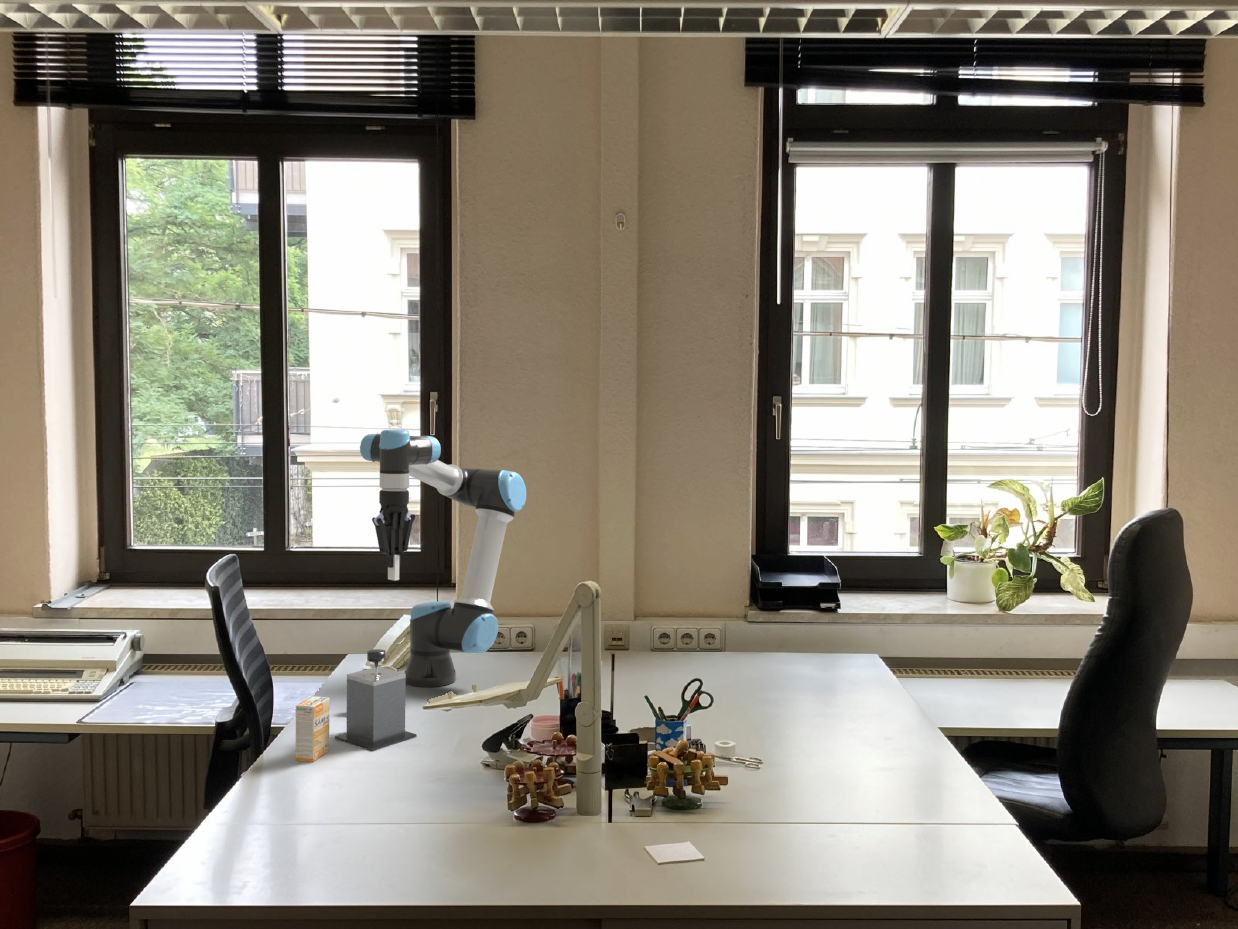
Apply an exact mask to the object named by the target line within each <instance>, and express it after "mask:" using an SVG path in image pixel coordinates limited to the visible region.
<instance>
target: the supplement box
mask: <svg viewBox="0 0 1238 929" xmlns="http://www.w3.org/2000/svg"><path fill="white" fill-rule="evenodd" d="M330 701H331V700H330V697H324V696H311V697H309V698H307V699H305V700H304V701H302V702H300V703H298V704H296V705H295V755H294V756H295V759H294V760H295V761H297V762H298V761H299V762H309V763H313V762H315V761H316V760H317V759H319V758H320V757H322V756H323V755H325V754H326V753H328V752H330V711H331V710H330V709H331V708H330V706H331V705H330V704H331V702H330Z"/></svg>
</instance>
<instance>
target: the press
mask: <svg viewBox="0 0 1238 929" xmlns="http://www.w3.org/2000/svg"><path fill="white" fill-rule="evenodd" d="M405 682H406V674H405V673H404V672H401V671H397V670H393V669H390V668H385V667H383V666H378V675H374V667H371V668H366V669H363V670H359V671H355V672H352V673H347V674H346V732H345V733H339V734H337V735H334V739H335V740H338V741H341V742H344V743H347V744H349V745H353V746H355V747H359V748H362V749H364V750H368V751H369V752H373V751H377V750H381V749H384V748H386V747H391V746H393V745H396V744H398V743H402V742H406V741H408V740H411V739H414V738H417V733H414V732H410V731H407V730H406V683H405Z"/></svg>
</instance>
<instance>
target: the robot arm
mask: <svg viewBox="0 0 1238 929" xmlns="http://www.w3.org/2000/svg"><path fill="white" fill-rule="evenodd" d="M359 451H360V455H361V456H362V458H363V459H364V460H365V461H368V462H372V463H379V488H380V491H379V494H378V495H379V497H378V498H379V501H378V502H379V504H380V510H379V514H378V515H377V516H376V517H374V516H373V517H372V519H371V522H372V523H373V525H374V528H375V533H376V537H377V544H378V550H379V553H380V554H383V555H385V556H386V557H385V558H386V559H385V562H386V563H385V564H386V567H387V580H389V581H399V580H400V567H401V566H402V556H403V555H404V554H405V552H408V549H409V543H410V540H411V539H410V538H411V533H412V528H413V523H414V521H415V519H416V515H415V514H412V513H411V512H409V507H408V504H410V491H409V490H408V489H409V488H410V477H411V478H414V479H415V480H419V481H420V482H422V483H424V484H426V485H428V486H431V487H434V488H436V491H438V493H439V494H441V495H442V496H444V497H447V498H448V499H449V498H450V499H451V500H453V501H455V502H458V503H460V504H462V505H464V506H469V507H472V508H475V509H474V511H475V514H476V515H477V517H478V519H477V524H476V527H475V531H474V532H475V534H474V537H473V541H472V547H471V551H470V555H469V560H468V563H467V569H466V572H465V578H464V581H463V585H462V586H463V587H462V591H461V595H460V597H459V598H457V599H456V600H454V603H453V607H452V604H451V602H450V601H447V600H446V601H445V600H443V601H442V600H440V601H437V600H436V601H430V602H423V603H418V604H415V605H414V606H412V608H411V610H410V619H409V623H410V624H409V625H410V626H409V627H410V630H409V631H410V632H409V634H410V636H409V640H410V641H409V642H410V645H409V646H410V648H409V649H410V650H409V653H410V654H409V658H408V661H407V665H406V669H405V670H404V672H403V673H405V674H406V682H405V684H407V685H409V686H413V687H420V688H434V687H436V688H437V687H442V686H447V685H451V684H454V682H456V680H457V671H456V669H455V666H454V663H453V662H454V661H453V659H452V656H451V650H452V651H457V652H463V653H467V654H483V653H485V652H487V651H488V650H489V649H490V648H492V646H493V644H494V643H495V641H496V639H497V636H498V632H499V624H498V622H499V621H498V619H497V617H496V615H494V612H495V609H494V607H493V605H492V604H491V601H492V594H493V591H494V587H495V582H496V578H497V572H498V567H499V562H500V559H501V553H502V549H503V544H504V541H505V540H504V539H505V535H506V530H507V525H508V523H510V522H511V521H513V520H514V519H515V513H516V512H519V511H521V510H522V509H523V508H524V506H525V504H526V501H527V487H526V484H525V481H524V479H523V478H522V476H521V475H520V474H519V473H518V472H515V471H510V470H505V469H502V470H500V469H499V470H498V469H485V468H484V469H483V468H482V469H481V468H470V467H468V468H467V467H462V466H458V465H456V464H447V463H444V462H443V461H441V460H439V458H440V457H441V452H442V448H441V444H440V442H439V440H438V439H437V438H436V437H434V436H430V435H419V436H418V435H410V432H409V431H408V429H382V431H381V432H380V433H377V432H376V433H370V434H366V435H365V436H363V437H362V439H361V442H360V445H359Z"/></svg>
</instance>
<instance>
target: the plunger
mask: <svg viewBox="0 0 1238 929" xmlns="http://www.w3.org/2000/svg"><path fill="white" fill-rule="evenodd" d="M386 652H387V651H386V649H369V650H367V652H366V657H367V660H366V661H367V662H372V663H373V665H374V666H373V668H374V675H378V667H379V663H380V662H383V661H385V660H386V659H387V658H386Z"/></svg>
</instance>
